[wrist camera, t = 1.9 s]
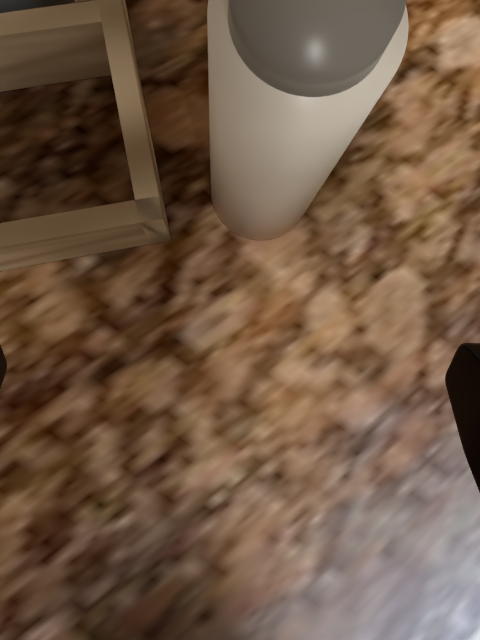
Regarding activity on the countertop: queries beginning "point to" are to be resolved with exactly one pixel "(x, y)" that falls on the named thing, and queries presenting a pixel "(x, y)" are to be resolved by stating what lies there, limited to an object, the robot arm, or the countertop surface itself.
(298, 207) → the cylinder
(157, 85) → the countertop surface
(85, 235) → the beech slot rack
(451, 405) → the robot arm
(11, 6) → the blue shaker
